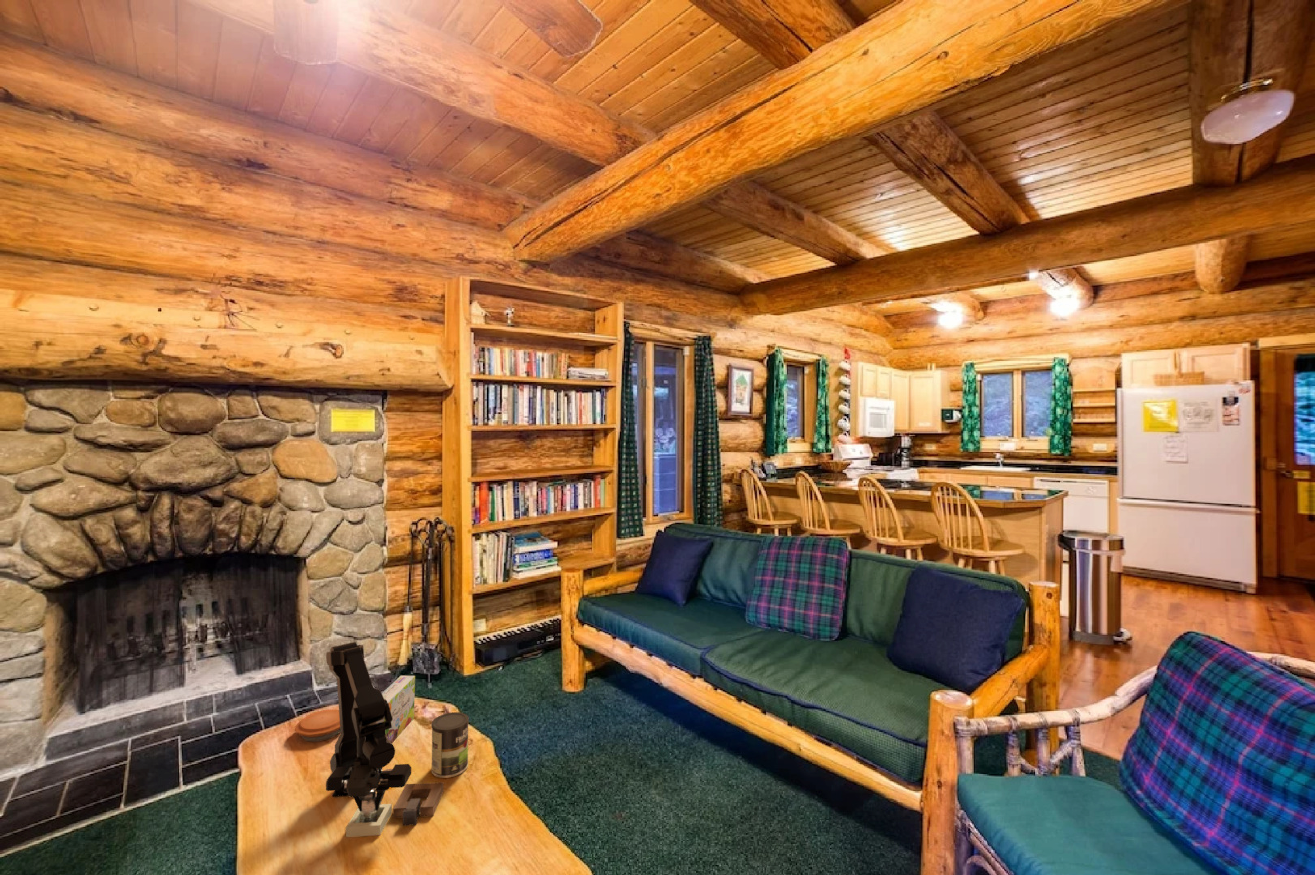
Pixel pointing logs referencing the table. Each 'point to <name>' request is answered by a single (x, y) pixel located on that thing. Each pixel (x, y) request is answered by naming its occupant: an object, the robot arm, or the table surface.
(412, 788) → the socket block
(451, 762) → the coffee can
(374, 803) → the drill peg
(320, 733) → the pie
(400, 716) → the snack box
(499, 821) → the table surface
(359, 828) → the beige square frame
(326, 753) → the table surface
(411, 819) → the dark grey block
